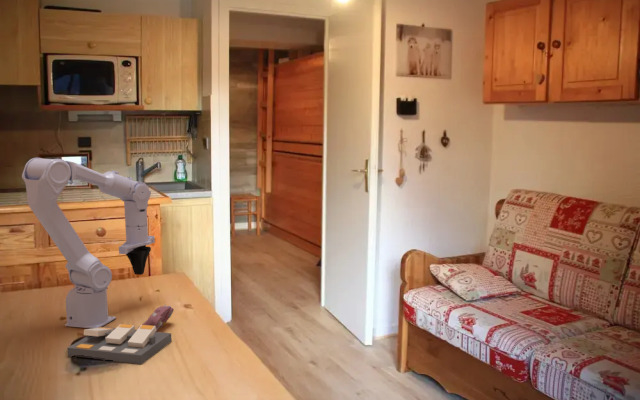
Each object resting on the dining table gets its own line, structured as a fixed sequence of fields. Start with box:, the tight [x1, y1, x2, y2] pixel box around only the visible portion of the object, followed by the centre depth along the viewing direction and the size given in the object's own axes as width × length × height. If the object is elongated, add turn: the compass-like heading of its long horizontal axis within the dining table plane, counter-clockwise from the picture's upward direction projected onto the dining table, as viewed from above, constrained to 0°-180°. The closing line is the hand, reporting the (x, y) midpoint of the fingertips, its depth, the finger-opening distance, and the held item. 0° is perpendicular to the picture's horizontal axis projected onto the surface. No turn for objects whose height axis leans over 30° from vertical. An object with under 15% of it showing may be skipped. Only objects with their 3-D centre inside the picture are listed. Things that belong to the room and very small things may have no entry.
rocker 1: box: [83, 326, 114, 336], centre depth 130 cm, size 4×6×1 cm, turn 166°
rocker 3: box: [128, 324, 156, 348], centre depth 127 cm, size 4×6×1 cm, turn 166°
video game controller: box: [138, 304, 174, 332], centre depth 141 cm, size 10×5×7 cm, turn 170°
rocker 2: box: [105, 323, 136, 344], centre depth 129 cm, size 4×6×1 cm, turn 166°
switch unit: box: [66, 326, 172, 365], centre depth 129 cm, size 18×13×4 cm
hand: (139, 273), depth 157 cm, fingers closed
